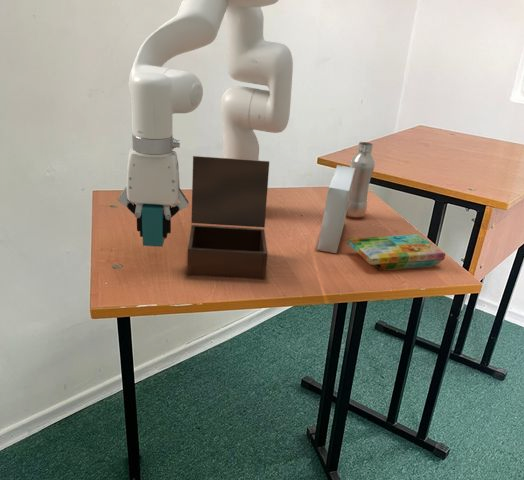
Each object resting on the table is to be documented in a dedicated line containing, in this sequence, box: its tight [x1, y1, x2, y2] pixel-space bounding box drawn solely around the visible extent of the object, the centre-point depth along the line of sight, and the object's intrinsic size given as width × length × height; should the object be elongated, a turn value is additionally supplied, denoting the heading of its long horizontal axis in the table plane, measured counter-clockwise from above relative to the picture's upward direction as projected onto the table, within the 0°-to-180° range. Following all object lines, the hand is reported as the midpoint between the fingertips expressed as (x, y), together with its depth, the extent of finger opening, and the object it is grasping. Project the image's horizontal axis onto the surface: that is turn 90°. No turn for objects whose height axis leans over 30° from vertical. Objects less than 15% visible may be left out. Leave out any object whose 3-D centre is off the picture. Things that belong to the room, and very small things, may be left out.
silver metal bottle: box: [346, 141, 376, 218], centre depth 161 cm, size 6×7×20 cm
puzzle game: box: [346, 233, 447, 271], centre depth 141 cm, size 12×5×20 cm
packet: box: [142, 204, 166, 248], centre depth 120 cm, size 6×4×8 cm
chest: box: [187, 224, 268, 280], centre depth 130 cm, size 14×17×7 cm
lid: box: [190, 155, 270, 228], centre depth 132 cm, size 14×17×5 cm
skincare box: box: [316, 164, 355, 254], centre depth 147 cm, size 21×5×16 cm, turn 168°
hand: (154, 234), depth 122 cm, fingers closed on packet, 4 cm apart
